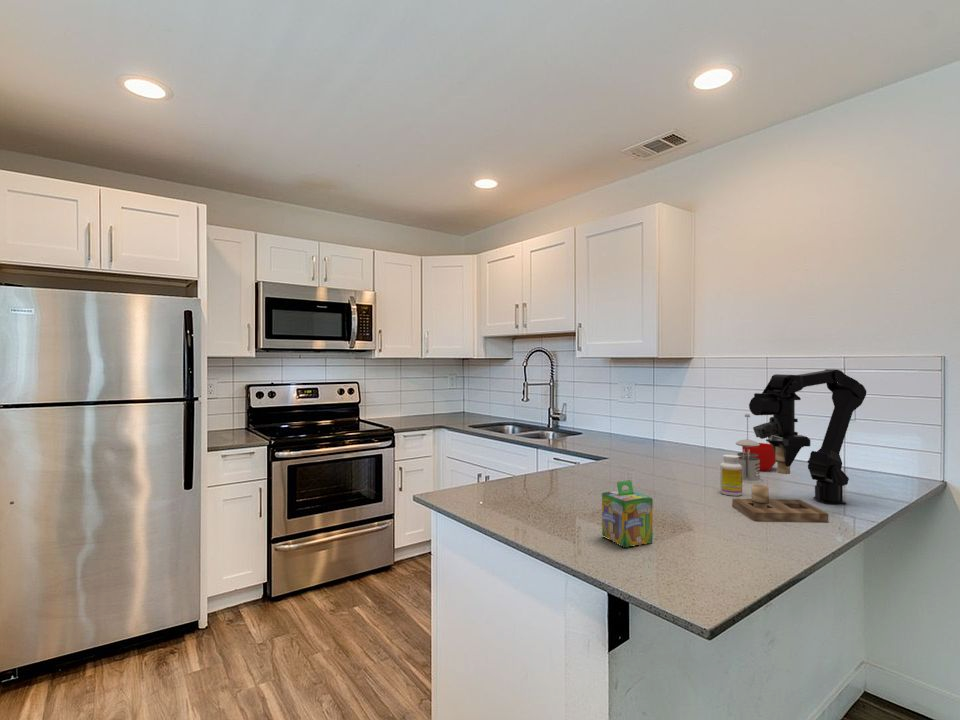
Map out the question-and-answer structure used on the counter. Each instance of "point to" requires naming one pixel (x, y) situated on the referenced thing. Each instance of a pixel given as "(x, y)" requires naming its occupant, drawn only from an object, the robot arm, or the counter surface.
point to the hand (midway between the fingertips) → (783, 464)
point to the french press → (749, 460)
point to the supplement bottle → (731, 476)
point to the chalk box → (627, 516)
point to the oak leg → (781, 461)
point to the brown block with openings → (777, 508)
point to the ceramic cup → (763, 455)
